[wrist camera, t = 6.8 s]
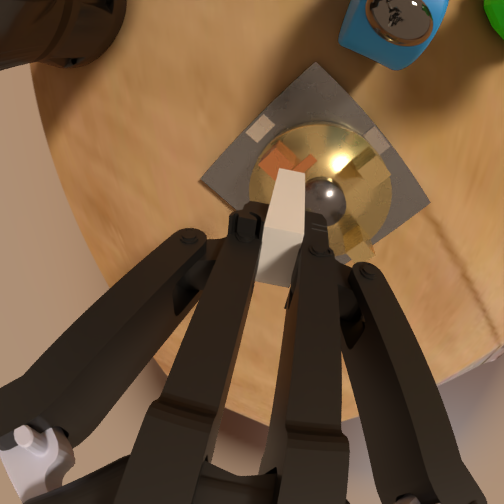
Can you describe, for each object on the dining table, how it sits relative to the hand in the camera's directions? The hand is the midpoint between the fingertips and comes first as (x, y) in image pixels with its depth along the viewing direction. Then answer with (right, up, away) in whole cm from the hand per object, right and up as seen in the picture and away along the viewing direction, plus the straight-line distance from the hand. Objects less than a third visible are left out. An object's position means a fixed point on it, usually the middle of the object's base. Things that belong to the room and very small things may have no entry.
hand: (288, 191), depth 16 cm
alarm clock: (+11, +22, +4) cm, 25 cm away
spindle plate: (+6, +5, +17) cm, 19 cm away
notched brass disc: (+6, +4, +16) cm, 17 cm away
